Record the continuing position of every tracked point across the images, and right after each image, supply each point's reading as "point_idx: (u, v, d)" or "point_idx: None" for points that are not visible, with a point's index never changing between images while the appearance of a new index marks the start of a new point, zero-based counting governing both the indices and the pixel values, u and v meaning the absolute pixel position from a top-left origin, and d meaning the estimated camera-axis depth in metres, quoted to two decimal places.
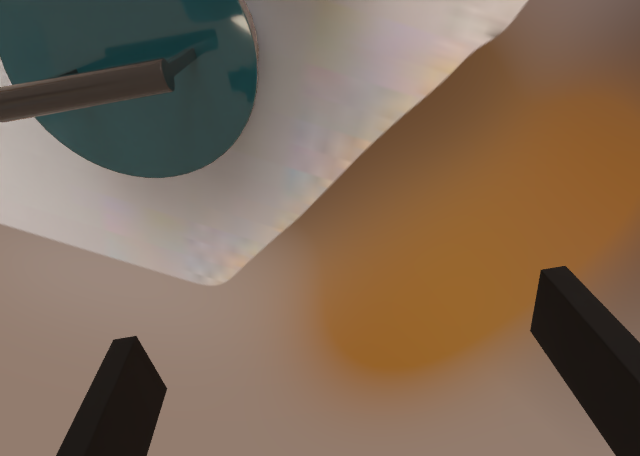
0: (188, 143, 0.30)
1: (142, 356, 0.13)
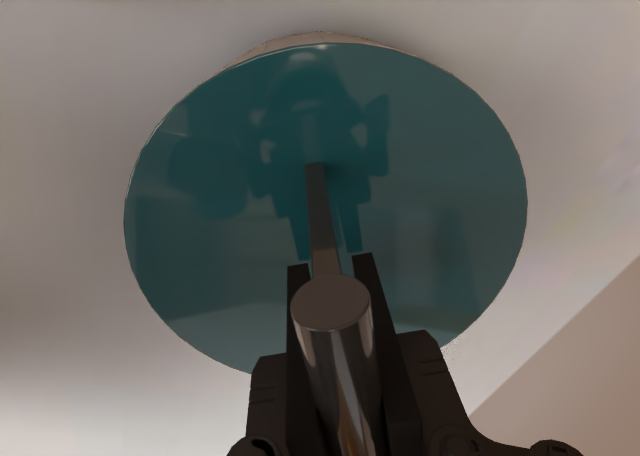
0: (471, 195, 0.16)
1: None
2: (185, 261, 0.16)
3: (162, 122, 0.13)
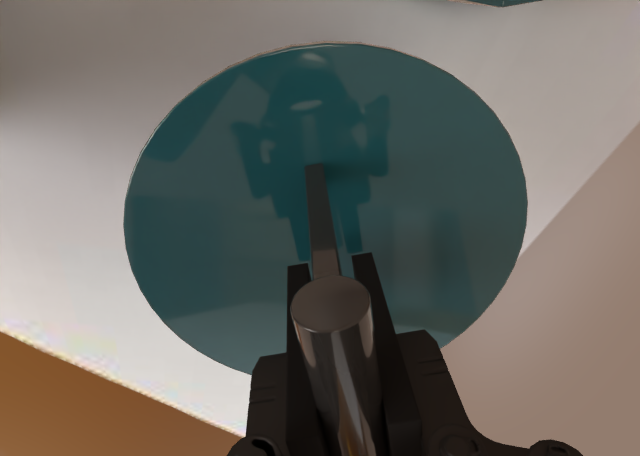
0: (471, 195, 0.16)
1: None
2: (185, 262, 0.16)
3: (162, 123, 0.13)
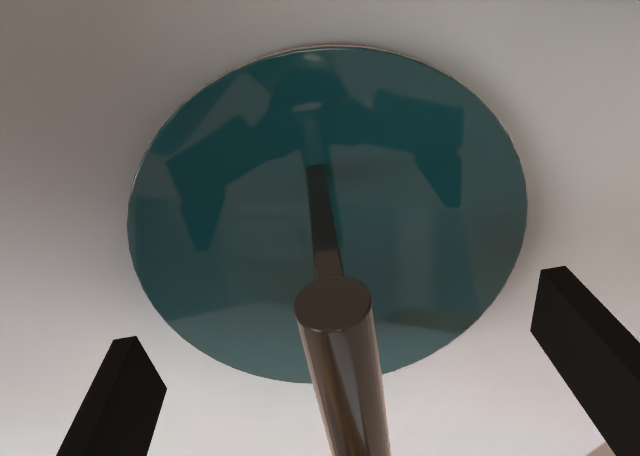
0: (471, 197, 0.16)
1: (142, 356, 0.13)
2: (188, 262, 0.17)
3: (166, 125, 0.14)
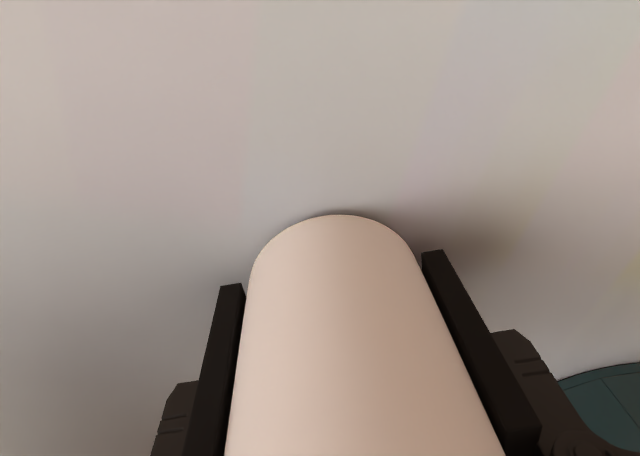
0: None
1: (245, 301, 0.14)
2: None
3: None
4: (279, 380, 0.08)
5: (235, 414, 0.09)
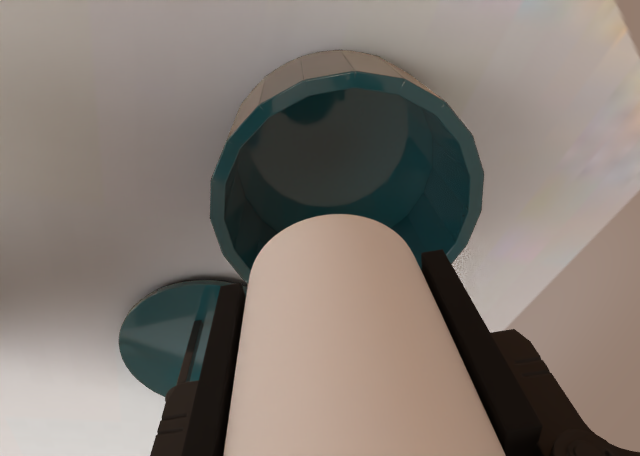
0: None
1: None
2: (146, 355, 0.37)
3: (134, 308, 0.34)
4: (278, 379, 0.08)
5: (234, 413, 0.09)
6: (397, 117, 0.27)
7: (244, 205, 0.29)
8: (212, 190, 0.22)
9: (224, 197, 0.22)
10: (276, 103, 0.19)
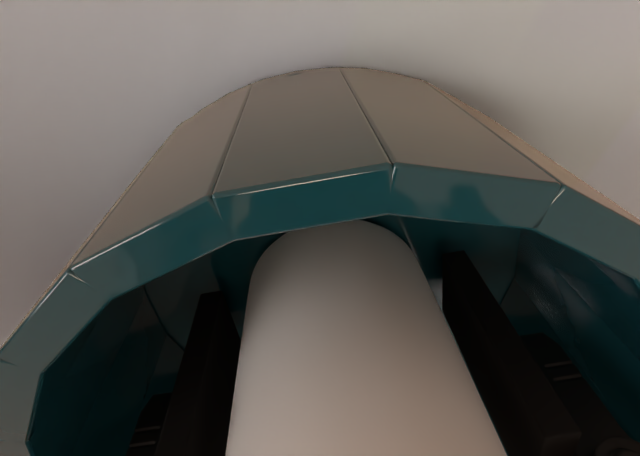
0: None
1: (226, 310, 0.14)
2: None
3: None
4: (279, 390, 0.08)
5: (235, 425, 0.09)
6: None
7: (159, 359, 0.15)
8: None
9: None
10: (123, 264, 0.06)
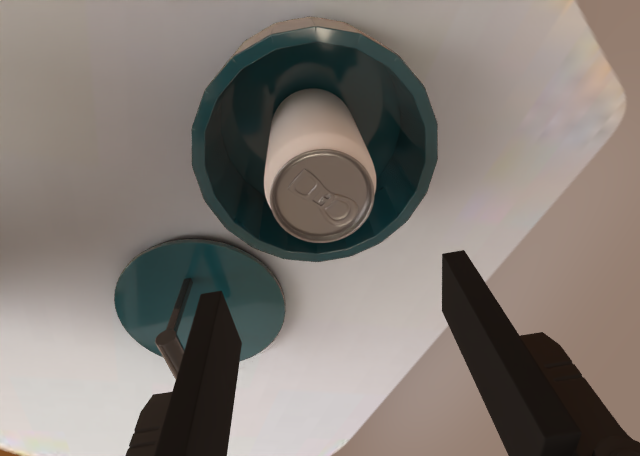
0: (255, 287, 0.39)
1: (226, 310, 0.14)
2: (140, 313, 0.39)
3: (128, 266, 0.36)
4: (287, 120, 0.24)
5: (271, 138, 0.25)
6: (366, 81, 0.30)
7: (227, 164, 0.31)
8: (193, 138, 0.24)
9: (204, 145, 0.24)
10: (247, 55, 0.22)
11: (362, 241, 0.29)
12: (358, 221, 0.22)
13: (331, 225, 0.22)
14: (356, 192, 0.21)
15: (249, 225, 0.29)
